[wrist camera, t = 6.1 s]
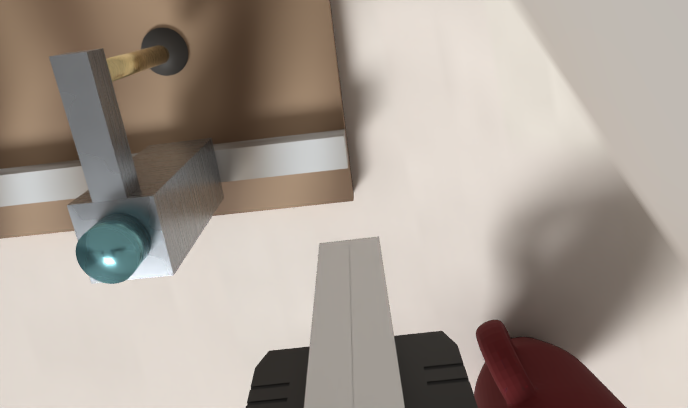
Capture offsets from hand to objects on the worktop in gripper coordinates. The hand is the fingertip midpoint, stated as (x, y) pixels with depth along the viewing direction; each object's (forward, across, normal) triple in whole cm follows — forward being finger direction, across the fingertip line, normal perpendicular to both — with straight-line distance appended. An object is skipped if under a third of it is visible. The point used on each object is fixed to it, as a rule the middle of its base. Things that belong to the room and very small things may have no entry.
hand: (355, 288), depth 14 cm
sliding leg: (+13, -8, +2) cm, 15 cm away
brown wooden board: (+16, -13, +3) cm, 21 cm away
